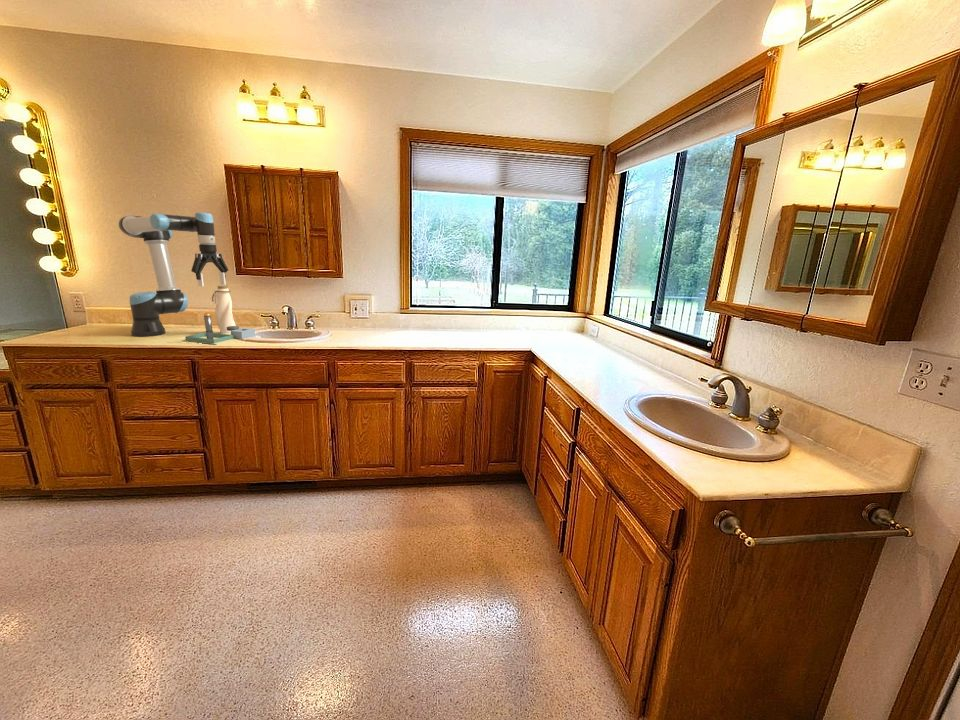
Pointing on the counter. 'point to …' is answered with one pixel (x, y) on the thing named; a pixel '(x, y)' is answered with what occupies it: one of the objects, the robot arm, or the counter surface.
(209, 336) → the lock pin
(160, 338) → the counter surface
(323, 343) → the counter surface
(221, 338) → the tray
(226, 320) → the water bottle
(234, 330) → the tensioner block
